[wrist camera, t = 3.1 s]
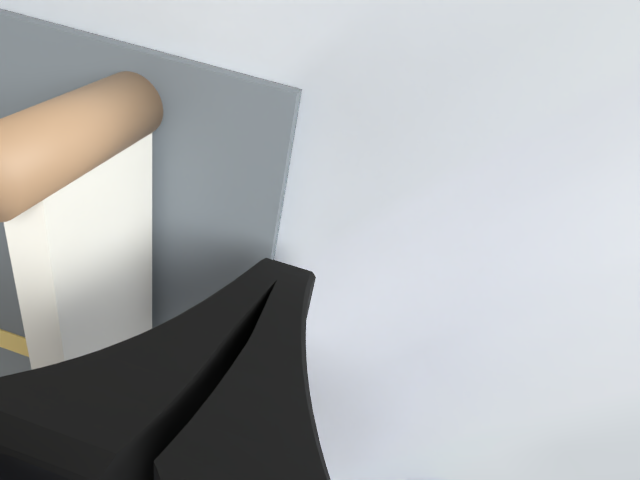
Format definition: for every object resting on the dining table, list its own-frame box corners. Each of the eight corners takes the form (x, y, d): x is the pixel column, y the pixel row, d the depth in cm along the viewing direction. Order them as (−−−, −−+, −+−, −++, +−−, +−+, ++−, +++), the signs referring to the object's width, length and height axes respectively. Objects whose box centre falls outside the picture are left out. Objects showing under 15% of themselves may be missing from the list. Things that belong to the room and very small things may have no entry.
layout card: (301, 89, 12) (296, 94, 12) (224, 559, 25) (220, 568, 25) (-245, -57, 14) (-264, -57, 14) (-54, 452, 27) (-61, 459, 27)
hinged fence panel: (159, 379, 18) (71, 505, 14) (119, 365, 18) (20, 485, 14) (163, 80, 12) (13, 151, 8) (103, 64, 12) (-71, 125, 8)
